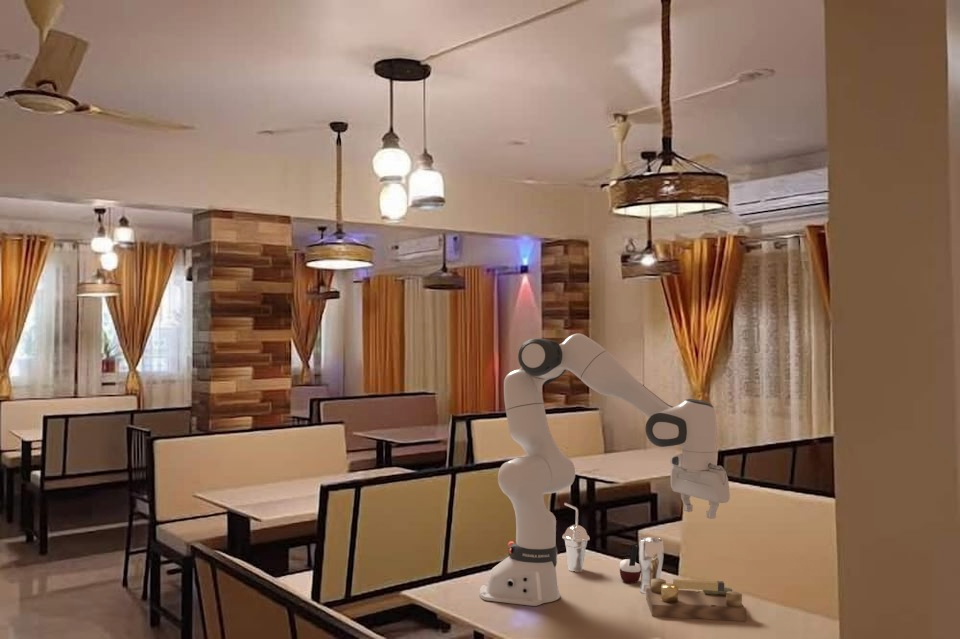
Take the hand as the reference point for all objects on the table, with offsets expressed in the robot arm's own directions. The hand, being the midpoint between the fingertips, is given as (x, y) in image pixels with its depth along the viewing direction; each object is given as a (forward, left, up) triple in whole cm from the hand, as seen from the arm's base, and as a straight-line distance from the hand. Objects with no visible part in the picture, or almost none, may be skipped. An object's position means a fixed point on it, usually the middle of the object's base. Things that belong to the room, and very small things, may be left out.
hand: (699, 514), depth 215 cm
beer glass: (-10, +21, -27) cm, 36 cm away
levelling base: (0, +7, -27) cm, 28 cm away
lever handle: (-1, +4, -24) cm, 24 cm away
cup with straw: (-31, +40, -27) cm, 57 cm away
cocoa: (-15, +30, -27) cm, 43 cm away
